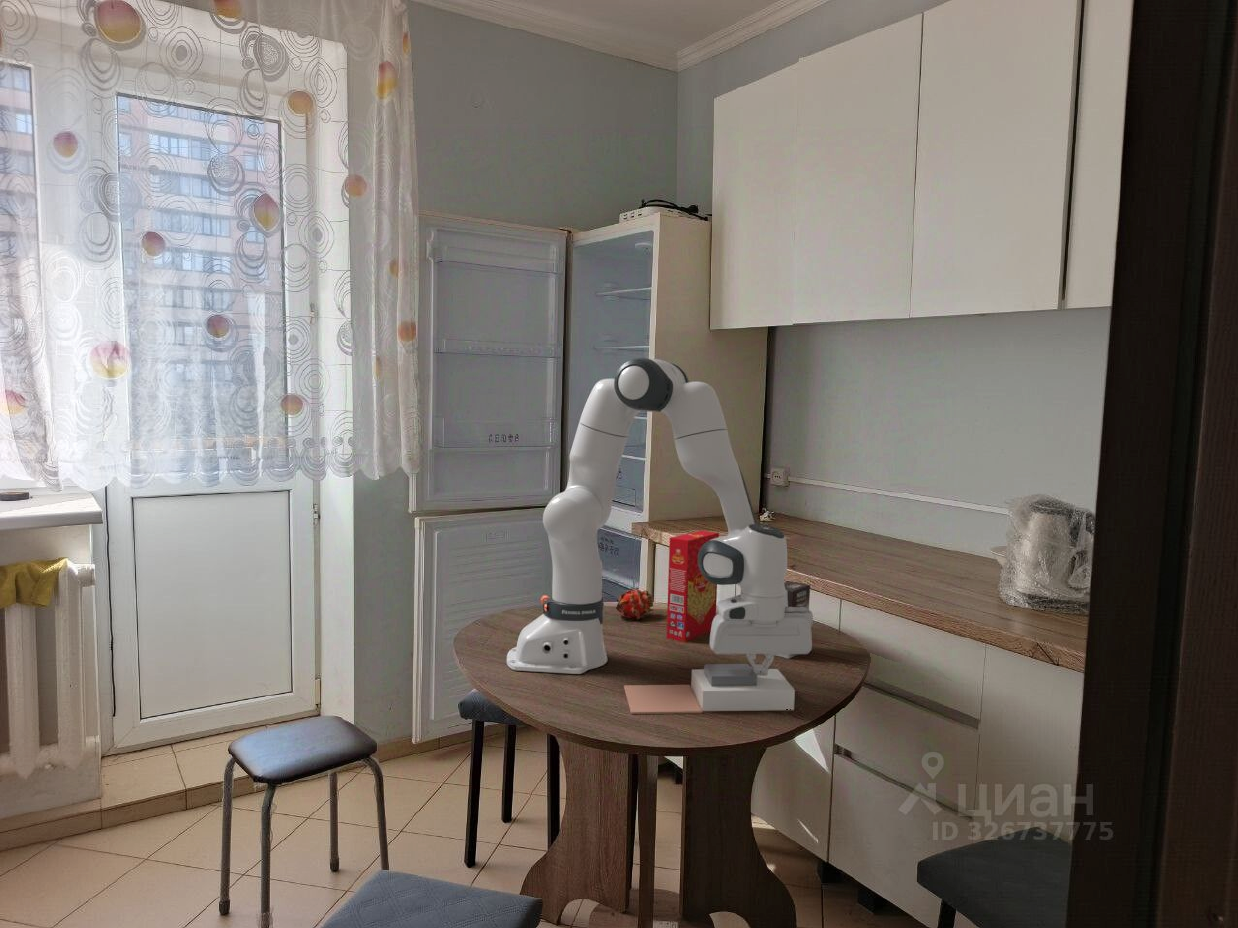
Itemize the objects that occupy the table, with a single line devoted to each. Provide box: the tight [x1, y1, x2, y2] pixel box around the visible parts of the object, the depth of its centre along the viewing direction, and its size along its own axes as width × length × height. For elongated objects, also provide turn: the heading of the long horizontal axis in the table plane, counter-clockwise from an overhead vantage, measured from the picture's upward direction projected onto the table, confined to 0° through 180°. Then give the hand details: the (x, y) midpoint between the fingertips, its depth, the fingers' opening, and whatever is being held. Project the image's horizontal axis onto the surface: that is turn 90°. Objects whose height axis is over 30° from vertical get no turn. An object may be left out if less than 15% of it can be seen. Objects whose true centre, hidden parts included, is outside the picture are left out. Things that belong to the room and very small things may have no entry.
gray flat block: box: [703, 663, 757, 686], centre depth 166 cm, size 9×7×2 cm
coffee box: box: [774, 580, 811, 660], centre depth 196 cm, size 9×6×16 cm
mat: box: [623, 684, 703, 715], centre depth 165 cm, size 14×14×1 cm
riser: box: [690, 668, 796, 712], centre depth 167 cm, size 18×12×4 cm, turn 95°
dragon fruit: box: [615, 587, 654, 620], centre depth 223 cm, size 8×8×12 cm
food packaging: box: [666, 530, 720, 643], centre depth 209 cm, size 15×5×25 cm, turn 143°
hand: (759, 674), depth 167 cm, fingers closed
